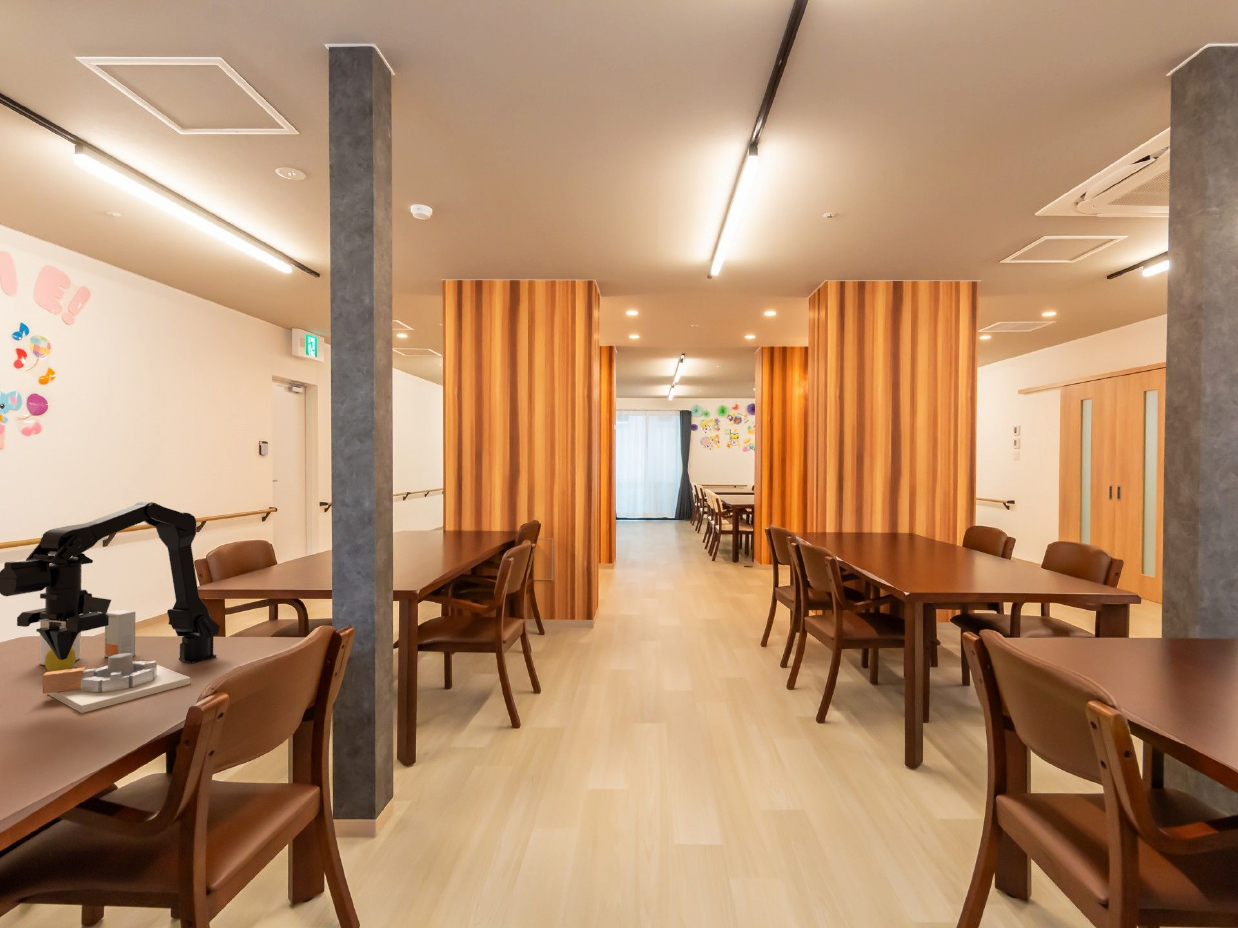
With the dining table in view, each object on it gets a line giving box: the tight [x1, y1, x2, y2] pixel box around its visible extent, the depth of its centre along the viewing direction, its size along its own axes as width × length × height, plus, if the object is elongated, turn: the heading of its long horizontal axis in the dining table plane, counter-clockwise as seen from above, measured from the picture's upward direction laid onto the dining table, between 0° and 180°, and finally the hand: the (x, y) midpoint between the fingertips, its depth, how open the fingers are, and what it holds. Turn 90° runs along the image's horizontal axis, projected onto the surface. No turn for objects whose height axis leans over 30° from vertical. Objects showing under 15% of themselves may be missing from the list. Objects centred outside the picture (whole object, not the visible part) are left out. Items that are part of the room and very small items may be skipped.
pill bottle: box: [38, 614, 82, 666], centre depth 159 cm, size 8×8×15 cm
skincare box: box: [104, 609, 136, 658], centre depth 164 cm, size 6×4×12 cm
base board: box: [47, 653, 191, 714], centre depth 140 cm, size 20×20×8 cm
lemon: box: [44, 647, 76, 672], centre depth 148 cm, size 6×6×8 cm
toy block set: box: [42, 660, 158, 695], centre depth 138 cm, size 20×13×4 cm, turn 122°
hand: (62, 659), depth 131 cm, fingers closed
